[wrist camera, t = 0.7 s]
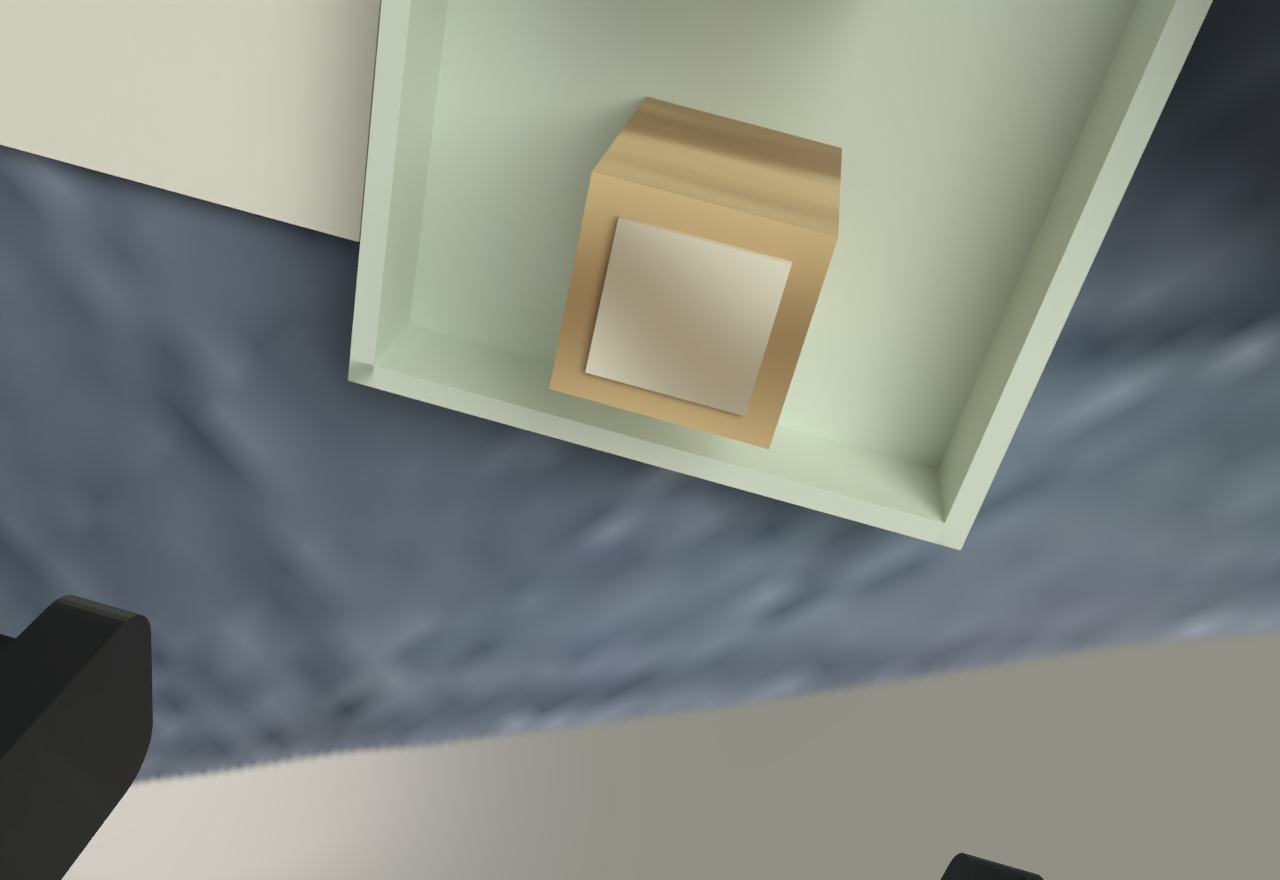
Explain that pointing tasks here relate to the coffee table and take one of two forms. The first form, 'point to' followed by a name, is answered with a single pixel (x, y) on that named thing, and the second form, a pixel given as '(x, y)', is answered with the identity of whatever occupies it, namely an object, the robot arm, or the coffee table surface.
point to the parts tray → (868, 215)
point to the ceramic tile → (201, 98)
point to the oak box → (698, 270)
